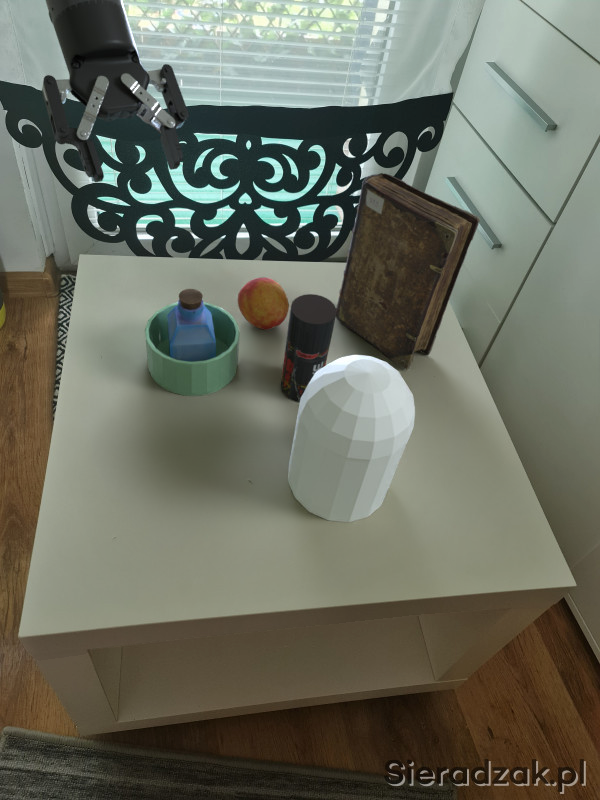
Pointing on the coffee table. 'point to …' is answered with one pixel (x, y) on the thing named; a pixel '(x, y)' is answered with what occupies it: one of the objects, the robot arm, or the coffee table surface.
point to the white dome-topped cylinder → (349, 437)
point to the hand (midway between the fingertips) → (138, 173)
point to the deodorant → (306, 342)
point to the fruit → (263, 303)
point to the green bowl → (199, 373)
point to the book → (402, 266)
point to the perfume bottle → (191, 329)
